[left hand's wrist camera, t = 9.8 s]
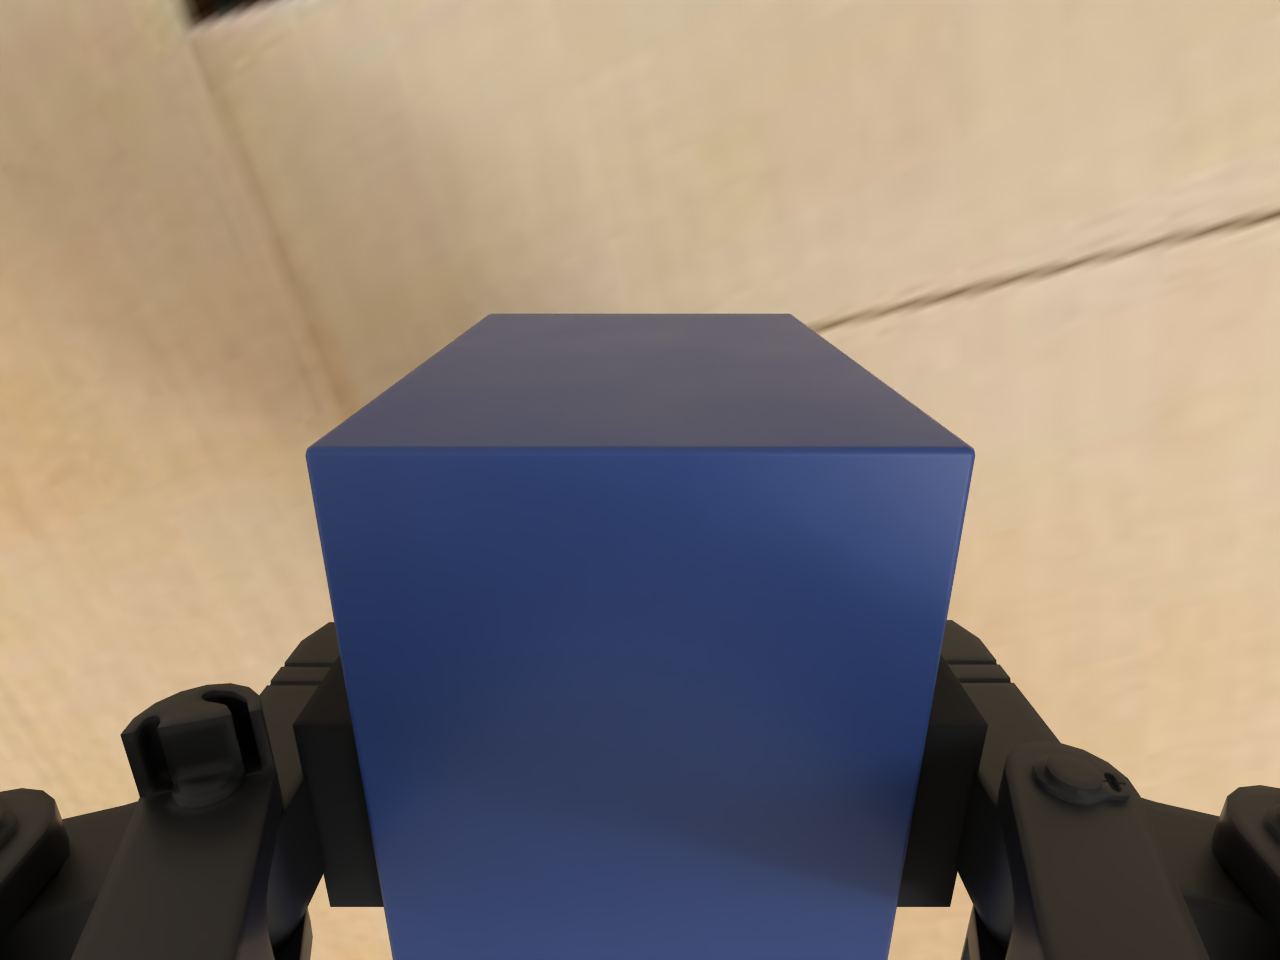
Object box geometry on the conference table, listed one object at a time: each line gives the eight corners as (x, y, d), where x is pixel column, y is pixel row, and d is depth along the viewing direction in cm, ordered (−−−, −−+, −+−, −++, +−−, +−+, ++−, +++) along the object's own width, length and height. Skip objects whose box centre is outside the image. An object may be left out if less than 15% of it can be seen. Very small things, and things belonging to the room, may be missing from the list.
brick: (488, 313, 14) (302, 448, 6) (791, 313, 14) (979, 448, 6) (516, 697, 18) (415, 1100, 10) (763, 697, 18) (865, 1100, 10)
